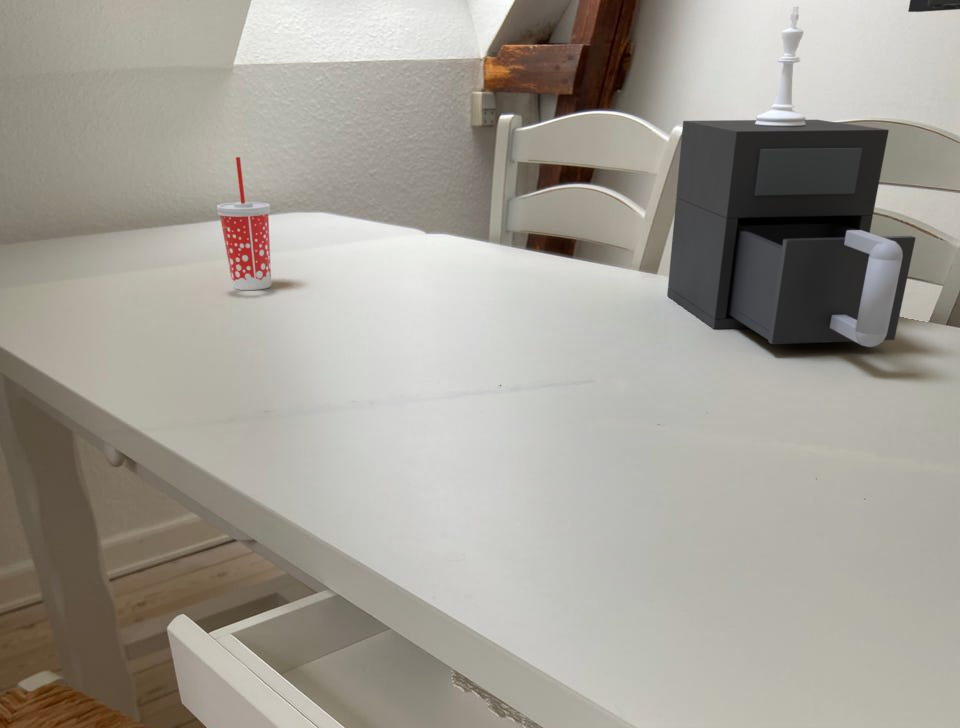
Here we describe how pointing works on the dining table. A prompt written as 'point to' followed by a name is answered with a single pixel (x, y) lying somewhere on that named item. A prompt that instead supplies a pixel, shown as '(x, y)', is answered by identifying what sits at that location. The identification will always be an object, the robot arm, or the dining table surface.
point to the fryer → (762, 195)
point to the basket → (818, 282)
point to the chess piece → (785, 82)
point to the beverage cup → (247, 240)
